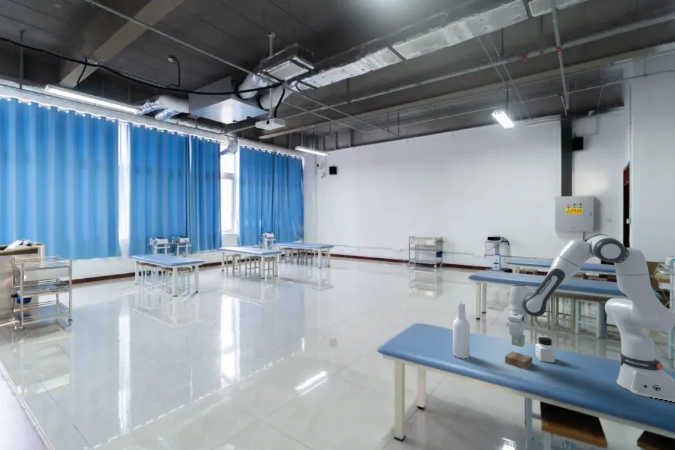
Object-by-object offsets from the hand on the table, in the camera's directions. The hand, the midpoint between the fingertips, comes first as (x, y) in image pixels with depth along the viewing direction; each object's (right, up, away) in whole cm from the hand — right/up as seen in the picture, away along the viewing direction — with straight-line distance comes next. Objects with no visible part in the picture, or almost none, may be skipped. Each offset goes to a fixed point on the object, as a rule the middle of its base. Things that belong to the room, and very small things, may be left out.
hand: (518, 340), depth 169 cm
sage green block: (0, -2, 0) cm, 2 cm away
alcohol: (-27, -12, +10) cm, 31 cm away
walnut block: (0, -13, 0) cm, 13 cm away
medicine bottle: (+18, -13, +6) cm, 23 cm away
